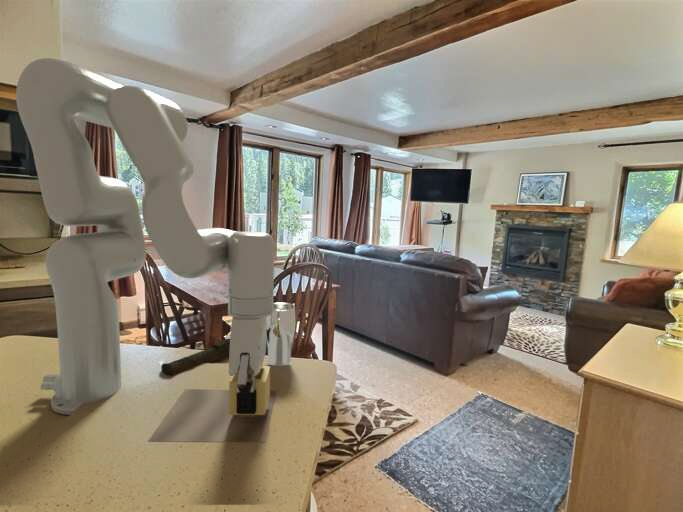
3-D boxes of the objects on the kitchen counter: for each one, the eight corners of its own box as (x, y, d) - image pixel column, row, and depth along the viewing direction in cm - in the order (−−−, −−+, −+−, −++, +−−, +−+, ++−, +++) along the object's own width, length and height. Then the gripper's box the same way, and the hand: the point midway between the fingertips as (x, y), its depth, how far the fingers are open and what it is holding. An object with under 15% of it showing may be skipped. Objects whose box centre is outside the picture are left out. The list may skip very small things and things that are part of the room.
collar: (229, 414, 62) (229, 381, 61) (237, 396, 68) (237, 365, 67) (264, 415, 63) (265, 381, 62) (269, 396, 68) (270, 366, 68)
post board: (147, 450, 57) (146, 411, 56) (185, 396, 73) (184, 365, 72) (264, 450, 58) (265, 412, 57) (276, 397, 74) (277, 367, 73)
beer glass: (267, 375, 83) (269, 311, 81) (261, 362, 89) (262, 303, 87) (297, 371, 86) (299, 309, 84) (289, 359, 92) (291, 301, 90)
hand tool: (170, 385, 77) (170, 364, 77) (160, 378, 80) (160, 358, 79) (241, 357, 93) (241, 339, 92) (230, 352, 95) (231, 335, 94)
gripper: (239, 291, 71) (239, 379, 73) (214, 319, 54) (215, 432, 56) (278, 292, 71) (276, 379, 74) (265, 320, 54) (264, 432, 57)
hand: (250, 401), depth 65 cm, fingers closed on collar, 6 cm apart
